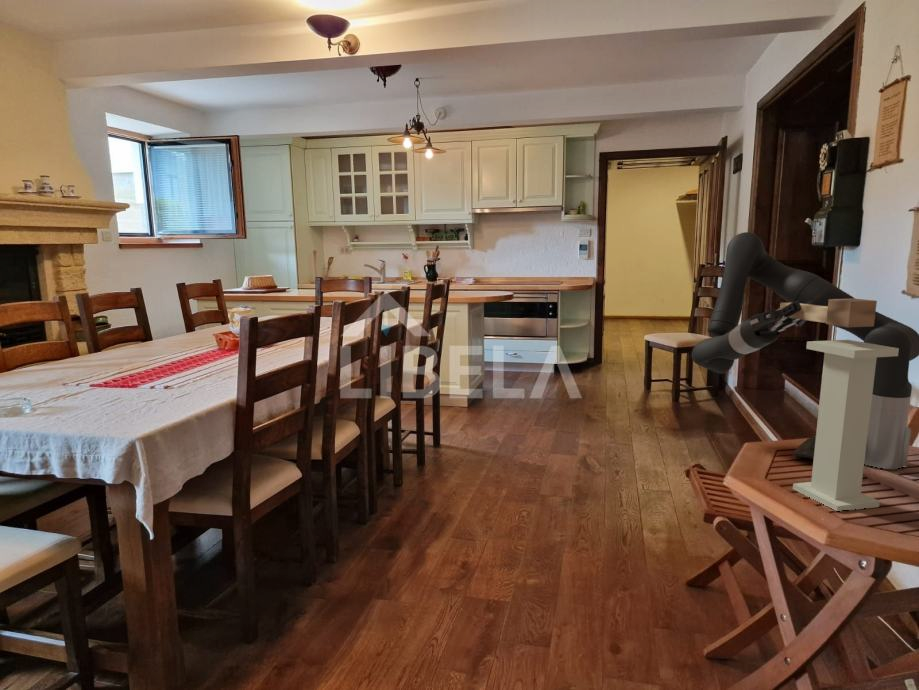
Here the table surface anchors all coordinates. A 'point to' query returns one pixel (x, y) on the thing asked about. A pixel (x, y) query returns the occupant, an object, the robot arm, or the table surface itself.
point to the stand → (843, 423)
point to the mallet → (839, 312)
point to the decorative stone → (806, 448)
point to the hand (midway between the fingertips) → (805, 305)
